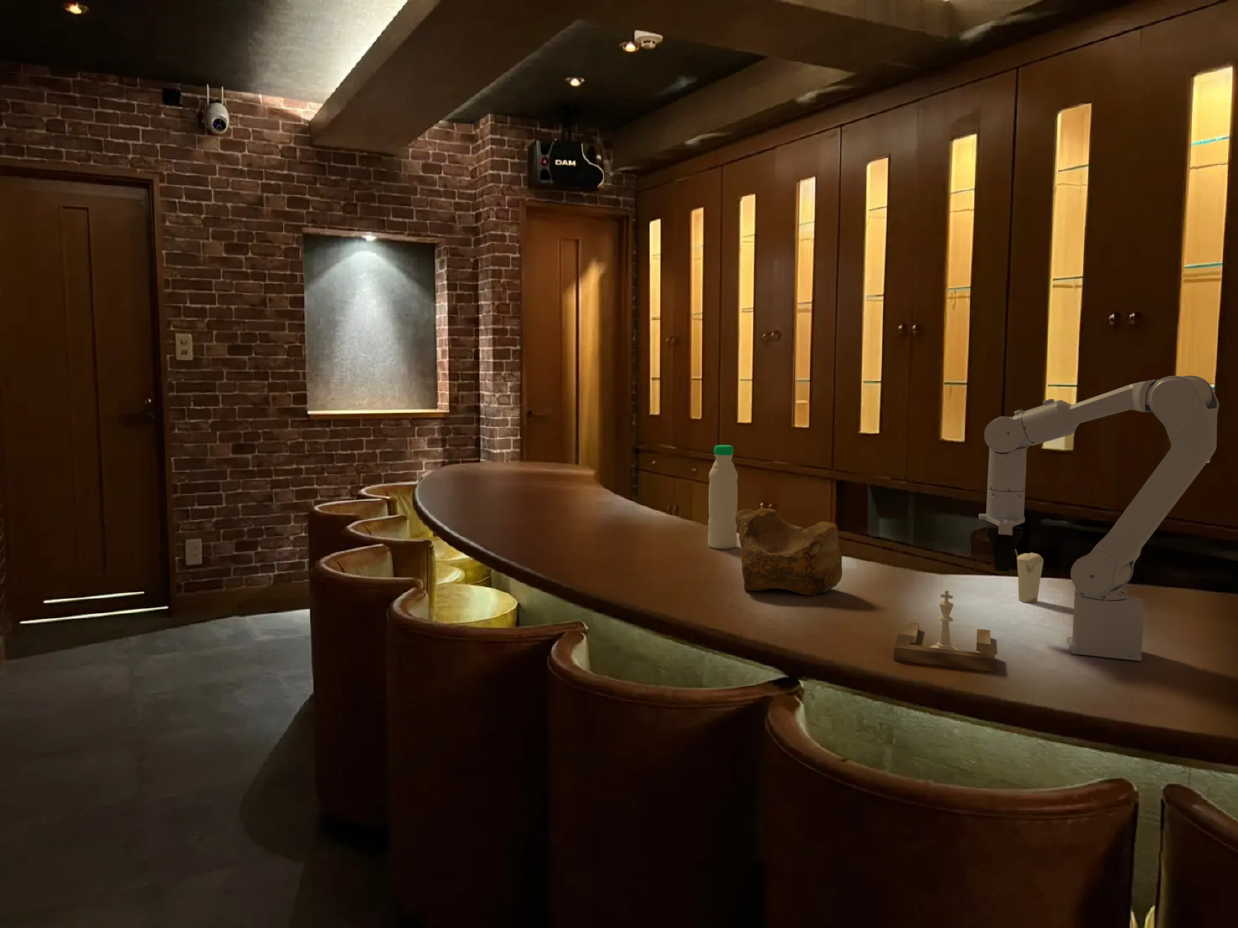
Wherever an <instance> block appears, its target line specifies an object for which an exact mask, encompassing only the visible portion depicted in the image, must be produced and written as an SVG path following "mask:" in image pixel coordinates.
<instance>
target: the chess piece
mask: <svg viewBox="0 0 1238 928" xmlns="http://www.w3.org/2000/svg"><path fill="white" fill-rule="evenodd" d="M949 592H950V591H949V590H947V589H946V590H945V591H944V593H941V594H940V598H944V600H942V601H940V602H939V608H940V613H941V614H942V615H940V616H938V620H939V621H940V622H941V629H940V633H939V634H940V635H939V640H938V641H937V642H936V644H934V645H931V646H929V647H932V648H941V649H949V650H958V651H961V649H959V648H957V647H955V646H953V645H954V644H953V643H951V634H950V622H953V621H954V618H953V617H952V616H950V614H951V613H952V610H953V607H954V604H953V602H951V601H949V600H950V599H951V600H952V599H953V598H954V597H953V595H952V594H949Z"/></svg>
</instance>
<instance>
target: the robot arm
mask: <svg viewBox="0 0 1238 928" xmlns="http://www.w3.org/2000/svg"><path fill="white" fill-rule="evenodd" d="M1218 400H1219V399H1218V398H1217V396H1216V393H1215V391H1214V388H1213V387H1212V385H1211V384H1210V383H1209V382H1208V381H1207V380H1206V379H1204V378H1203V377H1200V376H1197V375H1183V376H1181V375H1169V376H1165V377H1162V378H1160V379H1152V380H1146V381H1145V380H1144V381H1139V382H1136V383H1131V384H1128V385H1125V386H1122V387H1120V388H1119V387H1118V388H1116V389H1114V390H1111V391H1108V392H1106V393H1102V394H1100V395H1095V396H1093V397H1090V398H1087V399H1084V400H1082V401H1079V402H1075V403H1072V404H1071V403H1068V402H1067V401H1066V400H1065V401H1064V400H1062V399H1058V400H1055V399H1054V398H1049V399H1046V400H1043V401H1042V403H1043V404H1042V405H1040V406H1037V407H1034V408H1030V409H1028V410H1023V409H1018V410H1015V411H1014V412H1013V413H1014V416H998V417H997V418H995V419H993V420H992V421H991V420H990V422H989V423H988V424H987V425H986V427H985V429H984V434H983V435H984V436H983V438H984V442H985V444H986V446H987V447H988V448H989V451H988V470H987V487H986V488H987V491H986V493H987V494H986V513H979V514H978V519H979V520H983V521H984V520H985V521H986V522H989V523H992V524H994V525H996V526H989V525H988V526H985V532H986V535H987V537H988V539H989V542H990V545H991V550H992V558H993V565H994V570H995V571H996V572H1008V573H1009V572H1010V569H1011V568H1012V567H1011V566H1012V563H1013V560H1014V559H1013V558H1014V555H1015V549H1016V548H1017V546H1018V543H1019V542H1020V540H1021V538H1022V536H1023V535H1024V532H1023V528H1022V527H1021V526H1019V525H1021V524H1023V523H1025V520H1026V517H1025V498H1026V477H1027V453H1028V448H1029V447H1030V446H1033V447H1034V446H1037V445H1040V444H1044V443H1047V442H1051V441H1053V440H1056V439H1057V440H1058V439H1061V438H1064V437H1067V436H1071V435H1073V434H1074V433H1075V431H1076V429H1077V428H1078V426H1079V425H1080V424H1082V423H1085V422H1089V421H1093V420H1096V419H1100V418H1105V417H1109V416H1111V415H1116V414H1119V413H1122V412H1126V411H1130V410H1131V411H1135V412H1142V413H1153V414H1154V416H1155V417H1156V418H1157V419H1158V421H1159V422H1161V424H1162V425H1163V426H1164V428H1165V431H1166V434H1167V436H1168V440H1169V442H1170V446H1171V447H1170V449H1169V450H1168V452H1167V453H1166V454H1165V456H1163V458H1162V460H1161V461H1160V462H1159V464H1158V466H1156V468H1155V469H1154V470H1153V472H1152V474H1151V475H1150V476H1149V478H1147V480H1146V482H1145V483H1144V484H1143V486H1142V487H1141V488H1140V489H1139V491H1138V493H1137V494H1136V495H1135V496H1134V498H1133V499H1132V500H1131V502H1130V503H1129V504H1128V506H1127V507H1126V509H1125V510H1124V511H1123V513H1122V515H1121V516H1119V518H1118V519H1117V521H1116V522H1115V523H1114V525H1113V526H1112V527H1111V529H1110V530H1109V532H1108V533H1106V534H1105V536H1104V537H1103V538H1102V539H1100V540H1099V541H1098V543H1097V544H1096V545H1095V546H1094V547H1093V549H1092V550H1091V551H1090V552H1088V554H1086V555H1083V556H1081V557H1079V558H1078V559H1076V561H1074V563H1073V564H1072V566H1071V568H1070V578H1071V582H1072V584H1073V586H1074V600H1073V617H1072V619H1073V621H1072V635H1071V636H1067V638H1066V642H1067V644H1068V646H1069V647H1068V648H1069V650H1070V653H1071V654H1074V655H1080V656H1081V655H1082V656H1090V657H1091V656H1092V657H1098V658H1099V657H1100V658H1111V659H1118V660H1126V661H1127V660H1129V661H1130V660H1131V661H1137V662H1141V661H1142V649H1143V648H1142V647H1143V634H1144V633H1143V632H1144V631H1143V630H1144V603H1143V600H1142V598H1139V597H1133V596H1128V595H1129V593H1128V591H1127V588H1126V586H1125V585H1126V584H1127V583H1128V582H1130V580H1131V579H1132V576H1133V573H1134V566H1135V563H1136V561H1137V559H1138V558H1139V557H1140V555H1141V552H1142V548H1144V546H1145V544H1146V543H1147V542H1148V540H1149V539H1150V538H1151V537H1152V535H1153V534H1154V533H1155V531H1156V530H1157V528H1158V527H1159V526H1160V525H1161V523H1163V522H1164V519H1165V518H1166V517H1167V515H1168V514H1169V513H1170V512H1171V510H1172V509H1173V508H1174V507H1175V505H1176V504H1177V502H1178V501H1179V500H1180V498H1181V497H1182V496H1183V495H1184V494H1185V492H1186V491H1187V489H1188V488H1189V486H1191V484H1192V483H1193V481H1194V480H1195V479H1196V477H1198V475H1199V474H1200V472H1201V471H1202V470H1203V468H1204V467H1205V466H1206V464H1208V462H1209V461H1210V459H1211V458H1212V456H1213V455H1214V454H1215V452H1216V450H1217V439H1218V436H1217V435H1218V431H1217V430H1218V412H1219V407H1220V402H1219V401H1218Z"/></svg>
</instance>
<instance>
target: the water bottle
mask: <svg viewBox="0 0 1238 928" xmlns="http://www.w3.org/2000/svg"><path fill="white" fill-rule="evenodd" d="M734 451H735V450H734V447H733V445H729V444H718V445H715V446H714V447H713V454H714V457H715V460H714V462H713V464H712V466H711V467H712V468H711V469H710V470H709V473H708V479H709V484H708V485H709V486H708V516H709V518H708V522H707V523H708V525H707V527H708V534H707V535H708V536H707V545H708V546H709V547H710V548H713V549H719V550H720V549H721V550H729V549H735V548H736V546H737V544H738V536H737V530H738V528H737V525H736V522H735V518H736V513H737V512H738V479H739V478H738V477H739V475H738V471H737V469H736V468H735V463H734V462H733V461H732V459H733V456H734Z"/></svg>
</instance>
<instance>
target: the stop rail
mask: <svg viewBox="0 0 1238 928" xmlns="http://www.w3.org/2000/svg"><path fill="white" fill-rule="evenodd" d="M911 638H912V636H908V635H903V634H897V637H896V640H895V643H894V648H893V661H898V662H907V663H915V664H921V665H922V664H923V665H931V666H932V665H934V666H942V667H947V668H958V669H965V670H966V669H967V670H975V671H983V672H989V673H990V672H993V673H995V669H996V646H995V644H992V643H991V644H982V643H980V650H979V652H974V651H967V650H966V651H964V650H960V651H958V650H949V649H941V648H932V647H930V646H921V645H914V644H913V645H912V643H911Z"/></svg>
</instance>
